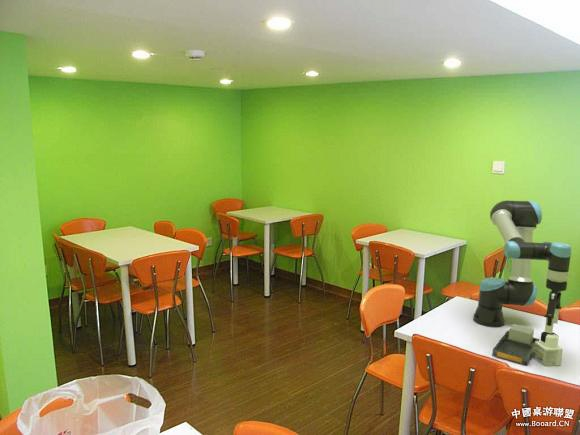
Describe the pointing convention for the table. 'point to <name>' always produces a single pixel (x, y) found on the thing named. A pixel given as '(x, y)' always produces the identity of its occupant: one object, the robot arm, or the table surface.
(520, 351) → the rack tray
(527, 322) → the table surface
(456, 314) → the table surface
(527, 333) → the filler block
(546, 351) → the container
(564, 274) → the robot arm
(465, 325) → the table surface
